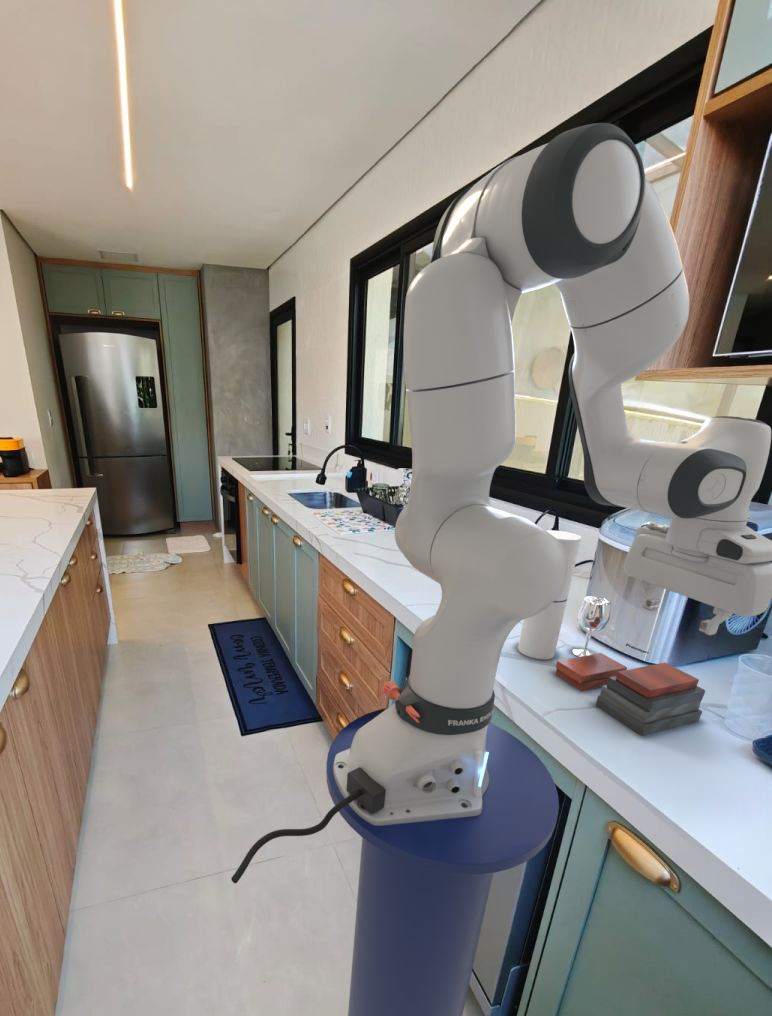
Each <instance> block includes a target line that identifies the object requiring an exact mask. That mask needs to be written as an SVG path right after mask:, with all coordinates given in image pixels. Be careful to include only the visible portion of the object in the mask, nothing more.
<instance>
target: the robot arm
mask: <svg viewBox="0 0 772 1016" xmlns="http://www.w3.org/2000/svg"><path fill="white" fill-rule="evenodd" d="M552 284H553V286H554V287H556V289H557V290H558V292H559V293H560V297H561V301H562V306H563V309H564V312H565V316H566V318H567V321H568V325H569V328H570V331H571V334H572V338H573V345H574V353H573V354H572V356H571V358H570V362H569V366H568V385H569V390H570V397H571V402H572V407H573V412H574V415H575V420H576V426H577V430H578V434H579V439H580V442H581V448H582V454H583V455H582V456H583V484H584V487H585V490H586V492H587V494H588V496H589V497H590V499H591V500H592V501H594V502H595V503H597V504H599V505H602V506H610V507H611V506H612V507H617V508H626V509H631V510H635V511H639V512H642V513H647V514H655V515H658V516H663V517H667V518H670V521H669V525H665V524H659V523H657V522H654V521H647V522H646V523H641V524H640V525H639V526H638V527H637V528H636V530H635V533H634V537H633V541H632V543H631V545H630V548H628V549H629V550H628V552H627V554H626V556H625V561H624V562H623V566H622V567H623V571H624V573H625V575H626V576H628V577H631V578H634V579H636V580H640V581H641V583H640V586H639V587H640V591H641V594H642V597H643V601H642V607H641V608H643V609H645V610H647V611H649V612H653V611H657V610H658V609H659V604H660V602H661V600H660V599H658V598H657V596H656V592H655V588H656V589H657V588H658V587H659V588H661V589H664V590H667V591H670V592H672V593H676V594H678V595H681V596H684V597H687V598H689V599H692V600H694V601H697V602H700V603H702V604H706V605H709V606H711V607H713V611H712V614H713V615H715V616H714V617H712V618H711V619H706V620H705V619H704V620H701V622H700V624H699V627H698V631H699V632H700V633H703V634H704V635H707V636H713V635H716V634H717V633H718V629H719V626H720V624H722V623H723V622H725V621H726V620H728V619H729V618H730V617H732V616H733V615H735V616H738V617H741V618H748V617H749V618H750V617H755V616H758V615H761V614H763V613H765V612H766V611H767V610H768V608H769V606H770V603H771V600H772V562H771V561H772V539H769V538H767V537H766V536H764V535H763V534H760V533H759V532H757V531H755V530H754V529H752V528H751V527H749V526H747V524H748V521H749V518H750V506H751V505H750V504H751V501H752V499H753V498H754V496H755V495H756V494H757V491H758V490H759V489H760V485H761V483H762V480H763V477H764V474H765V470H766V467H767V463H768V459H769V456H770V450H771V443H772V429H771V426H770V425H768V423H766V422H765V421H762V420H759V419H754V418H749V417H742V416H732V415H718V416H713V417H708V418H706V419H705V420H704V422H703V424H702V425H701V428H700V429H699V431H698V432H696V433H695V434H693V435H691V436H690V437H688V438H685V439H683V440H680V442H669V441H661V440H660V441H659V440H648V439H644V438H641V437H638V436H637V435H635V434H633V433H632V432H631V431H630V430H629V429H628V426H627V420H626V413H625V406H624V399H623V393H622V384H623V383H625V382H628V381H630V380H631V379H634V378H635V377H637V376H639V375H641V374H643V373H644V372H645V371H647V370H648V369H650V368H651V367H652V366H654V365H655V364H656V363H657V362H659V361H660V360H661V359H663V358H664V357H665V355H667V354H668V353H669V351H671V349H672V348H673V347H674V346H675V345H676V343H677V342H678V340H679V339H680V337H681V335H682V334H683V332H684V330H685V328H686V326H687V323H688V321H689V314H690V294H689V293H690V292H689V287H688V283H687V279H686V275H685V271H684V265H683V262H682V257H681V254H680V250H679V246H678V243H677V240H676V237H675V233H674V231H673V228H672V225H671V223H670V220H669V217H668V215H667V213H666V211H665V209H664V206H663V204H662V202H661V200H660V197H659V196H658V194H657V192H656V190H655V189H654V186H653V185H652V183H651V182H650V181H649V180H648V179H647V178H646V173H645V167H644V162H643V159H642V157H641V154H640V152H639V150H638V148H637V146H636V144H635V143H634V142H633V141H632V139H631V138H630V136H629V135H628V134H627V132H625V131H624V130H623V129H622V128H620V127H618V126H616V125H615V124H613V123H608V122H597V123H590V124H585V125H581V126H577V127H574V128H571V129H569V130H566V131H563V132H561V133H560V134H558V135H556V136H555V137H554V138H553V139H551V140H550V141H549V142H547V143H545V144H542V145H540V146H538V147H535V148H533V149H531V150H529V151H527V152H525V153H523V154H520V155H516V156H514V157H511V158H509V159H507V160H506V161H504V162H503V163H501V164H500V165H498V166H497V167H496V168H494V169H493V170H491V171H490V172H489V173H487V174H486V175H485V176H483V177H482V178H481V179H480V180H478V181H477V182H476V183H474V184H471V185H470V186H468V187H467V188H465V189H464V190H462V191H461V192H460V193H459V194H458V195H457V197H456V198H455V199H453V201H452V202H451V203H450V205H449V206H448V207H447V208H446V210H445V211H444V213H443V214H442V216H441V218H440V221H439V223H438V226H437V227H436V231H435V234H434V239H433V244H432V251H431V257H430V261H429V264H428V265H426V266H425V267H423V268H422V269H421V270H420V271H419V272H418V273H417V274H416V275H415V276H414V277H413V279H412V281H411V282H410V285H409V286H408V288H407V289H408V290H407V292H406V296H405V304H404V305H405V306H404V320H403V322H404V323H403V364H404V380H405V381H404V382H405V391H406V401H407V410H408V421H409V431H410V443H411V454H412V456H411V457H412V458H411V461H412V463H411V465H412V466H411V478H410V485H409V486H410V487H409V493H408V498H407V503H406V505H405V506H403V508H402V510H401V511H400V512H399V515H398V516H397V518H396V522H395V526H394V540H395V543H396V544H395V545H396V546H397V548H398V550H399V551H400V553H401V554H402V555H403V557H404V558H405V560H406V561H407V562H408V563H409V564H410V565H411V566H412V567H413V568H414V569H415V570H416V571H418V572H420V574H423V575H424V576H426V577H427V578H429V579H431V580H433V581H434V582H436V583H437V584H439V585H440V589H441V598H440V602H439V606H438V608H437V610H436V613H435V614H434V615H432V616H430V617H427V618H425V619H424V620H423V621H422V622H421V623H420V624H419V625H418V626H417V627H416V629H415V631H414V634H413V641H412V642H413V643H412V644H413V645H412V650H411V651H412V653H411V660H410V661H411V662H410V670H409V675H408V676H407V678H406V679H405V682H404V683H403V685H402V688H400V687H399V686H398V685H397V684H396V683H395V682H394V680H393V681H392V680H388V681H386V682H384V684H383V685H382V693H384V694H385V695H386V696H387V698H388V699H389V700H391V701H394V700H395V701H394V703H393V704H391V705H390V706H388V707H386V708H387V709H386V710H385V711H383V712H382V713H381V714H379V715H378V716H377V717H375V718H374V719H372V720H371V721H370V722H368V723H367V724H365V725H364V726H363V727H361V728H360V729H359V730H358V731H357V732H356V734H355V736H354V738H353V741H352V745H351V748H350V749H347V750H345V751H342V752H340V753H338V754H337V755H336V756H335V759H334V765H333V773H334V777H335V781H336V783H337V786H338V788H339V790H340V792H341V794H342V795H343V797H344V799H343V800H342V801H341V802H339V803H338V804H337V805H334V806H333V807H331V808H330V810H329V811H328V812H327V813H326V814H325V816H324V818H323V819H322V820H321V821H320V822H319V823H318V824H316V825H313V826H311V827H305V828H283V829H276V830H273V831H270V832H267V834H265V835H263V836H262V837H261V838H259V839H257V841H256V842H255V843H254V844H253V845H251V847H250V849H249V850H248V852H247V853H246V855H245V857H244V858H243V859H242V861H241V862H240V865H239V866H238V868H237V869H236V871H235V873H234V874H233V875H232V876H231V882H232V883H233V884H237V883H238V882H240V880H241V878H242V876H243V875H244V873H245V872H246V871H247V869H248V867H249V865H250V863H251V861H252V860H253V858H254V857H255V856H256V854H257V853H258V851H259V850H260V849H261V848H262V847H263V846H264V845H266V844H267V843H269V842H270V841H272V840H274V839H277V838H281V837H305V836H310V835H315V834H317V833H319V832H321V831H323V830H324V829H325V828H326V827H327V826H328V825H329V823H330V822H331V820H332V819H333V817H334V816H336V815H337V814H338V813H339V811H340V810H341V809H342V808H343V807H345V806H346V805H348V804H349V806H350V807H351V808H352V809H353V810H354V812H355V813H357V814H358V815H359V816H360V817H361V818H362V819H364V820H365V821H367V822H368V823H370V824H372V825H375V826H383V825H394V824H403V823H413V822H423V821H433V820H442V819H452V818H462V817H471V816H478V815H480V814H481V812H482V796H483V794H484V793H485V791H486V789H487V787H488V784H489V775H488V770H487V758H488V754H489V752H486V736H487V725H488V724H489V722H490V723H491V721H492V717H493V713H494V705H495V700H496V699H495V697H496V693H495V690H494V686H495V680H496V677H497V671H498V667H499V662H500V657H501V653H502V650H503V648H504V645H505V642H506V641H507V638H508V637H509V635H510V634H511V632H512V631H513V629H514V628H515V627H516V626H517V625H518V624H519V623H520V622H523V620H524V619H526V618H529V617H532V616H534V615H536V614H538V613H540V612H541V611H543V610H545V609H546V608H547V607H548V606H549V605H550V604H552V602H553V601H554V600H555V599H556V598H557V596H558V595H559V594H560V592H561V590H562V588H563V586H564V583H565V580H566V577H567V571H568V559H567V554H566V551H565V548H564V547H563V545H562V543H561V542H560V541H559V540H558V539H557V538H555V537H554V536H552V535H551V534H550V533H548V532H547V530H545V528H543V527H541V526H540V525H538V524H536V523H534V522H533V521H531V520H530V519H528V518H525V517H523V516H520V515H516V514H514V513H510V512H507V511H505V510H501V509H497V508H495V507H493V506H492V504H491V501H490V489H491V484H492V480H493V476H494V473H495V471H496V469H497V468H498V467H499V466H501V465H502V464H504V462H505V461H507V460H508V459H509V457H511V455H512V453H513V452H514V449H515V445H516V441H517V425H516V424H517V423H516V422H517V421H516V420H517V419H516V417H517V416H516V373H515V372H516V370H515V369H516V367H515V346H514V337H513V336H514V335H513V327H512V326H513V320H514V315H515V311H516V308H517V305H518V302H519V300H520V298H521V296H522V294H524V293H528V292H532V291H536V290H539V289H543V288H545V287H547V286H550V285H552ZM464 807H465V808H464ZM363 808H365V809H363Z"/></svg>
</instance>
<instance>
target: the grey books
mask: <svg viewBox="0 0 772 1016" xmlns="http://www.w3.org/2000/svg"><path fill="white" fill-rule="evenodd" d="M600 689H601V690H600V693H599V695H597V698H596V701H595V706H596V707H597V708H599V709H600V710H602V711H603V712H605V713H606V714H608V715H610V717H613V718H614V719H616V720H617V721H618V722H620V723H622V724H623V725H625V726H626V727H628V728H629V729H630V730H632V731H634V732H635V733H636V734H638V735H639V736H641V737H643V736H647V735H651V734H654V733H659V732H663V731H666V730H670V729H673V728H679V727H682V726H685V725H690V724H693V723H696V722H697V723H698V722H700V719H701V717H702V713H703V710H702V709H700V706H701V703H702V700H703V698H704V696H705V693H706V690H705V689H704V688H702V687H700V686H698V685H697V687H695V688H691V689H686V690H682V691H678V692H673V693H669V694H664V695H660V696H656V697H651V698H647V697H645V696H643V695H641V694H640V693H638V692H636V691H635V690H633V689H631V688H629V687H628V686H626V685H624V684H623V683H621V682H619V681H617V680H616V676H613V677H609V680H608V683H607V685H604V686H602V687H601V688H600Z"/></svg>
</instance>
